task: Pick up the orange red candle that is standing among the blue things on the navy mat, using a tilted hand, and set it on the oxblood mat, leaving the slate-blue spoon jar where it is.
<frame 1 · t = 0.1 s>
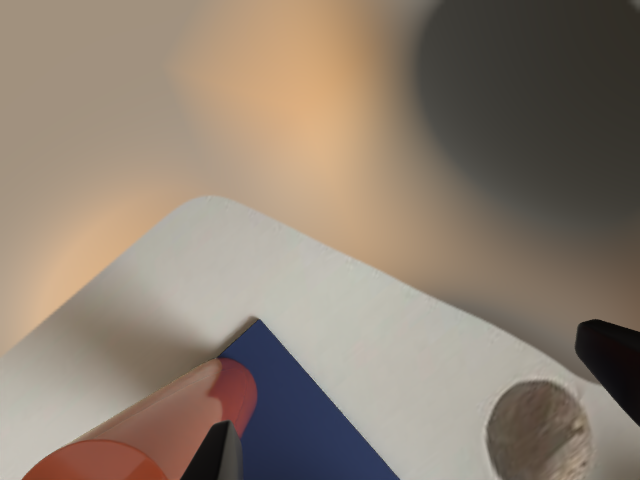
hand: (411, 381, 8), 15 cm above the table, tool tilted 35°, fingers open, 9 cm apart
orange red candle: (219, 396, 22), resting on navy mat
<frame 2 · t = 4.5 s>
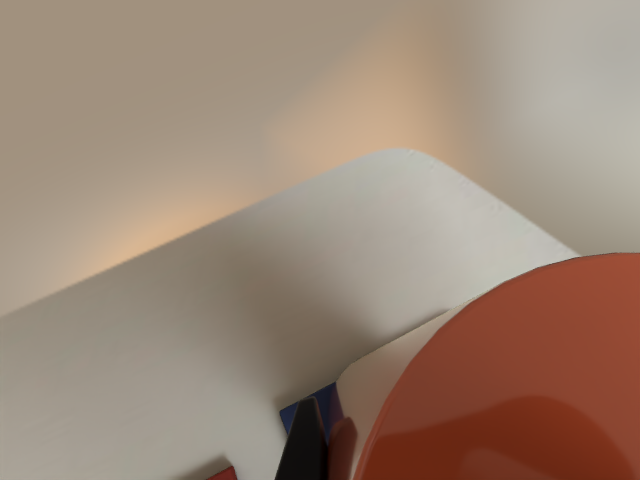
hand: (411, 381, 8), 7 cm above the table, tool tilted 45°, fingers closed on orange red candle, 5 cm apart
orange red candle: (387, 414, 14), point 1 cm above the table, touching gripper, navy mat
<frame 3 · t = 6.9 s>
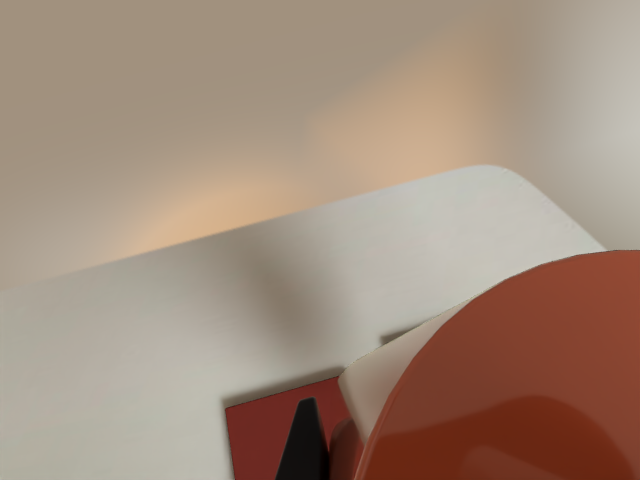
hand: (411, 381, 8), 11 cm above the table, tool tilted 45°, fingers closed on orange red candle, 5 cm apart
orange red candle: (387, 413, 14), point 5 cm above the table, touching gripper
when the fingers open (7 cm above the table, at t = 9.4 s): orange red candle stays where it is, resting on oxblood mat.
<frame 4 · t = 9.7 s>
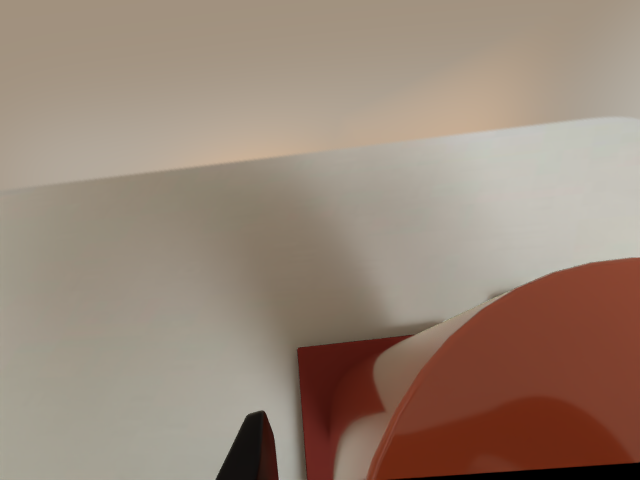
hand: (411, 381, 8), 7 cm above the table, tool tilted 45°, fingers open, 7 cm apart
orange red candle: (388, 416, 14), point 1 cm above the table, touching oxblood mat
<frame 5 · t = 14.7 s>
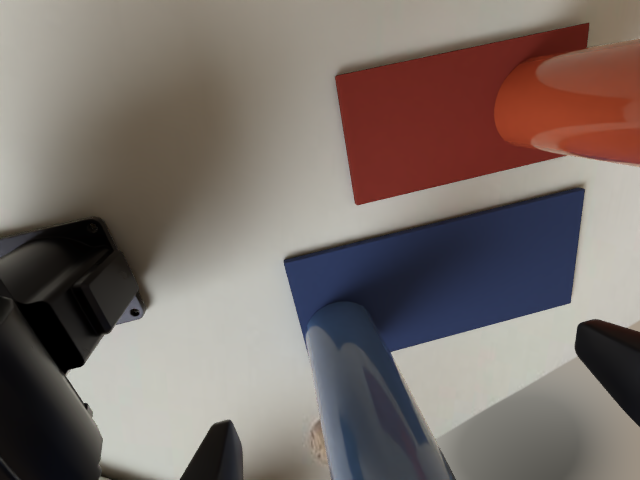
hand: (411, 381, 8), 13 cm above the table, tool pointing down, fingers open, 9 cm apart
oxblood mat: (463, 118, 19), on the table
slate blue jar: (340, 330, 23), resting on navy mat
orange red candle: (532, 103, 19), resting on oxblood mat
navy mat: (439, 281, 23), on the table
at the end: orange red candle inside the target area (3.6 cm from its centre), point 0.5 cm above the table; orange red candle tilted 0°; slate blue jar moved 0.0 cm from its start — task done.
